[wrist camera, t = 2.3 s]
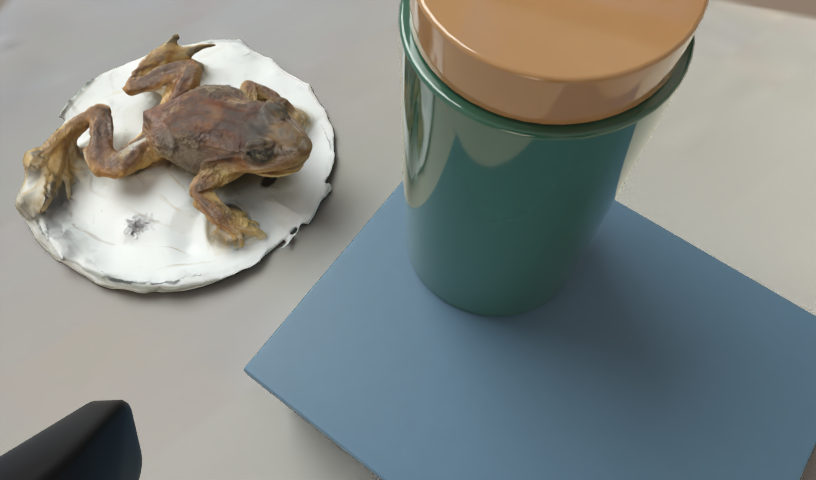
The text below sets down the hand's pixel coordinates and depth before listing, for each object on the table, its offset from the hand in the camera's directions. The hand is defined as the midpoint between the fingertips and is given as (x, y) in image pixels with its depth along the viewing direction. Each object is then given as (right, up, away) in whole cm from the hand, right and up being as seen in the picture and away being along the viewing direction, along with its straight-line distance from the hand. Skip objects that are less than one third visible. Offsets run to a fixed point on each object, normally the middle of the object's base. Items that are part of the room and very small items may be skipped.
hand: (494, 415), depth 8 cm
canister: (+2, +2, +12) cm, 12 cm away
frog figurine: (-10, +5, +18) cm, 21 cm away
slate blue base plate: (+3, -3, +14) cm, 15 cm away
